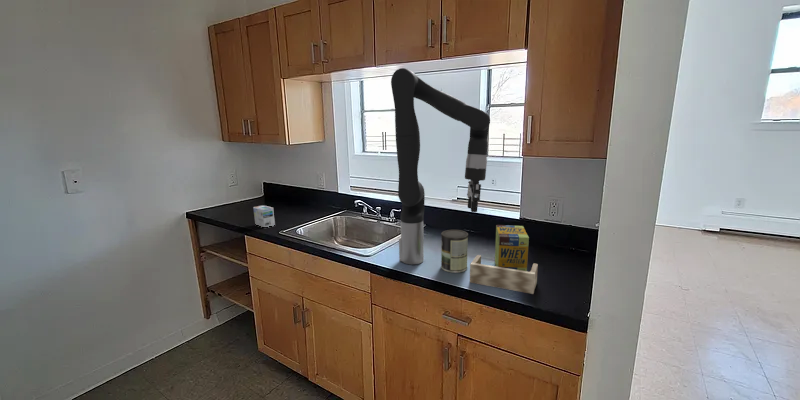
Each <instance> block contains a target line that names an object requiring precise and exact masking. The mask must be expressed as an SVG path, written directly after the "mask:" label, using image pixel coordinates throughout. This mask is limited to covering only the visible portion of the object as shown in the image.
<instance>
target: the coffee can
mask: <svg viewBox="0 0 800 400" xmlns="http://www.w3.org/2000/svg"><path fill="white" fill-rule="evenodd" d="M440 236H441V239H440V240H441V242H440V243H441V250H440V251H441V252H440V253H441V255H440V256H441V261H440V262H441V264H440V268H441V270H442V271H445V272H447V273H451V274H452V273H453V274H455V273H456V274H457V273H462V272H465V271H467V270H468V247H469V246H468V242H469V241H468V238H469V233H468V232H467V231H465V230H463V229H447V230H446V229H445V230H443V231H442V232H441V233H440Z"/></svg>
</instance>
